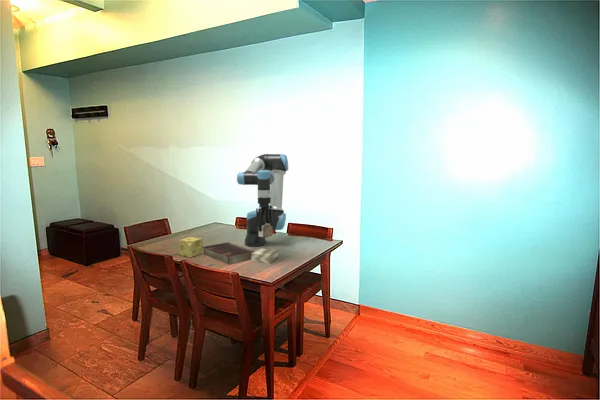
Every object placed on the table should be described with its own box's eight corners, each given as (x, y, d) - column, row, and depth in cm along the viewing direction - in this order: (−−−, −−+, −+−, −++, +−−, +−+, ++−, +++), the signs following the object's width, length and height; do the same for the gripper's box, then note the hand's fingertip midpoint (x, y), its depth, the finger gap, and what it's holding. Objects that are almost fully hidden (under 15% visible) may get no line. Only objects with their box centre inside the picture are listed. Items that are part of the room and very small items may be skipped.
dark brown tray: (255, 258, 214) (255, 250, 214) (228, 265, 201) (228, 256, 201) (228, 248, 235) (228, 241, 234) (203, 254, 222) (203, 246, 221)
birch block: (251, 261, 208) (251, 253, 207) (260, 256, 219) (260, 248, 218) (269, 264, 204) (269, 255, 203) (278, 258, 215) (278, 250, 214)
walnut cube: (258, 236, 208) (258, 226, 207) (264, 234, 213) (264, 224, 212) (266, 237, 205) (266, 227, 204) (272, 235, 210) (272, 225, 209)
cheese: (190, 258, 213) (189, 241, 212) (178, 255, 219) (177, 239, 217) (203, 253, 222) (202, 238, 220) (191, 251, 227) (191, 236, 226)
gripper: (260, 199, 196) (260, 239, 199) (278, 195, 212) (278, 232, 216) (249, 198, 199) (249, 238, 202) (267, 194, 216) (268, 231, 219)
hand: (264, 235), depth 209 cm, fingers closed on walnut cube, 6 cm apart
